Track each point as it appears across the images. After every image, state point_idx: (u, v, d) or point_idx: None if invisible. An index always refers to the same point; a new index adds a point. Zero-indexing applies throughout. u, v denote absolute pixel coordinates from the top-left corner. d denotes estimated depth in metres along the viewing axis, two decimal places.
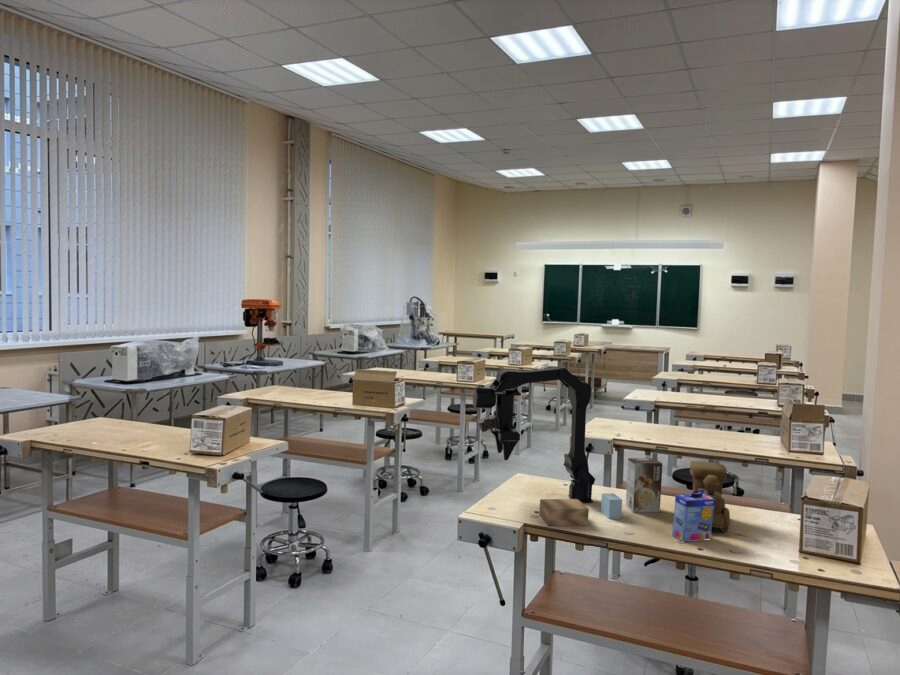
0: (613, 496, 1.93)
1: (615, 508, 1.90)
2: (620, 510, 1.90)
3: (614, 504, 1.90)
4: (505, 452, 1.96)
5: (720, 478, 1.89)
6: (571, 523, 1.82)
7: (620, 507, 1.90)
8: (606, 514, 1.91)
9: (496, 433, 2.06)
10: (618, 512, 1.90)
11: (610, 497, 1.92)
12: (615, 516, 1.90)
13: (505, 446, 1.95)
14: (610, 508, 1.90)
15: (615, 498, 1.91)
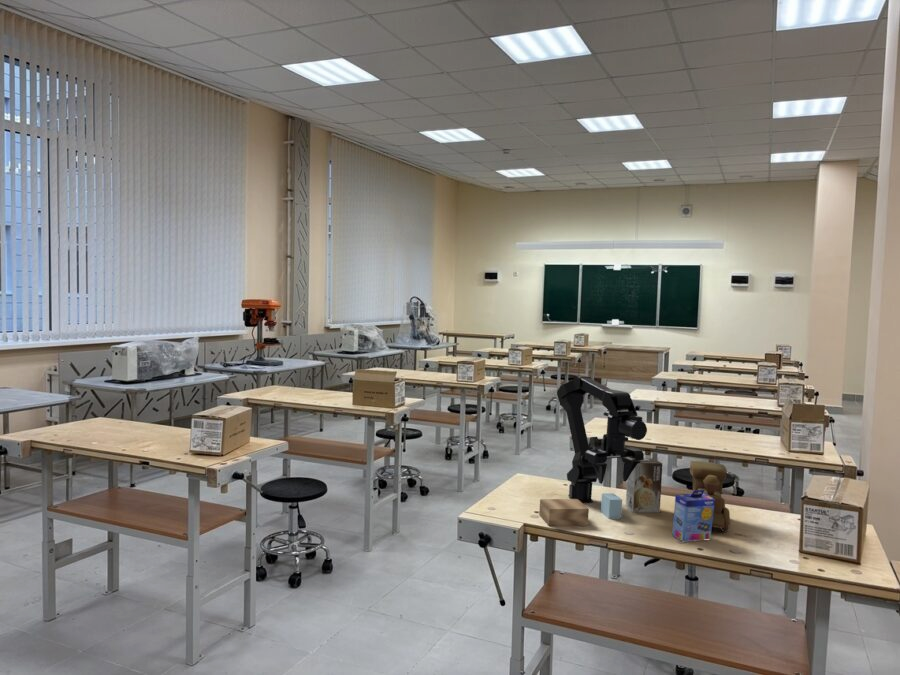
0: (613, 496, 1.93)
1: (615, 508, 1.90)
2: (620, 510, 1.90)
3: (614, 504, 1.90)
4: (597, 474, 1.90)
5: (720, 478, 1.89)
6: (571, 523, 1.82)
7: (620, 507, 1.90)
8: (606, 514, 1.91)
9: (624, 460, 1.95)
10: (618, 512, 1.90)
11: (610, 497, 1.92)
12: (615, 516, 1.90)
13: (596, 468, 1.90)
14: (610, 508, 1.90)
15: (615, 498, 1.91)
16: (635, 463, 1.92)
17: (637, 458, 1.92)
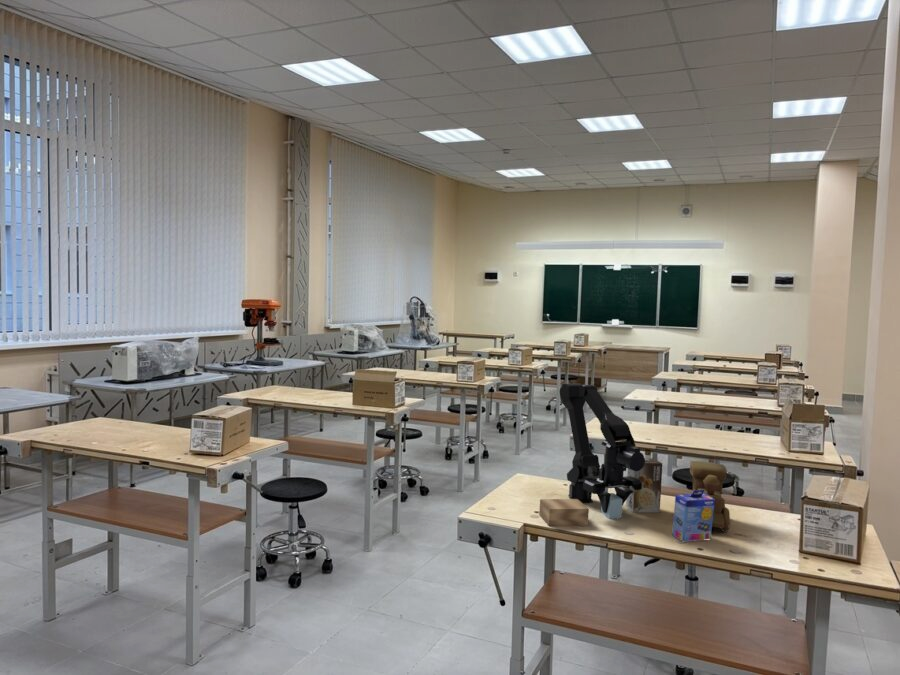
0: (613, 496, 1.93)
1: (615, 508, 1.90)
2: (620, 510, 1.90)
3: (614, 503, 1.90)
4: (601, 503, 1.92)
5: (720, 478, 1.89)
6: (571, 523, 1.82)
7: (620, 507, 1.90)
8: (606, 514, 1.91)
9: (617, 489, 1.95)
10: (618, 512, 1.90)
11: (610, 497, 1.92)
12: (615, 516, 1.90)
13: (600, 497, 1.92)
14: (610, 508, 1.90)
15: (615, 498, 1.91)
16: (628, 493, 1.92)
17: (635, 488, 1.92)
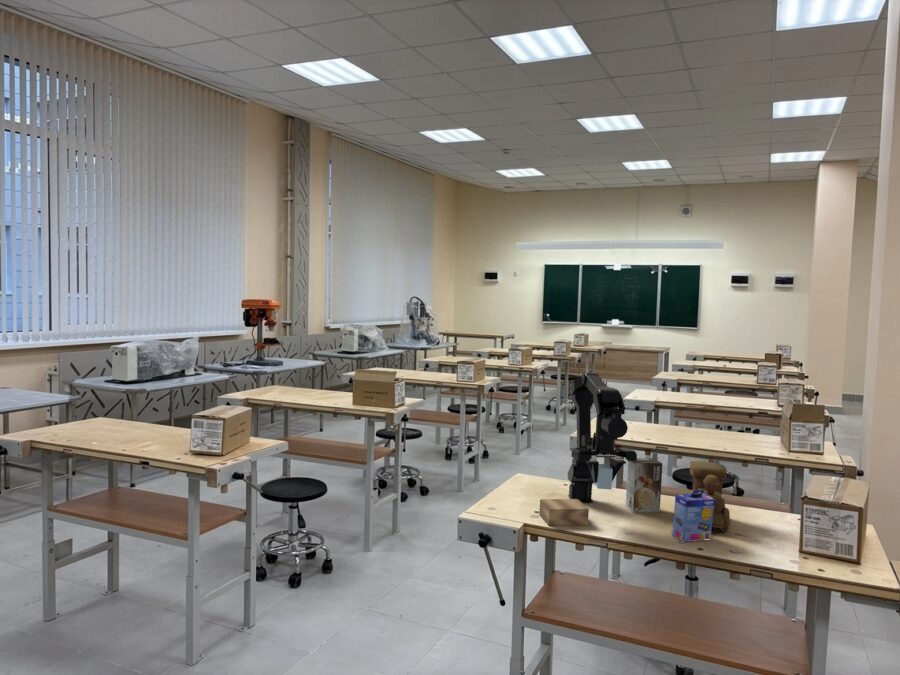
0: (604, 466, 1.85)
1: (605, 478, 1.83)
2: (610, 480, 1.83)
3: (603, 473, 1.83)
4: (591, 473, 1.86)
5: (720, 478, 1.89)
6: (571, 523, 1.82)
7: (610, 477, 1.83)
8: (596, 484, 1.85)
9: (611, 460, 1.87)
10: (608, 483, 1.83)
11: (601, 466, 1.85)
12: (605, 486, 1.83)
13: (590, 466, 1.86)
14: (599, 477, 1.83)
15: (605, 467, 1.84)
16: (620, 464, 1.84)
17: (628, 459, 1.84)
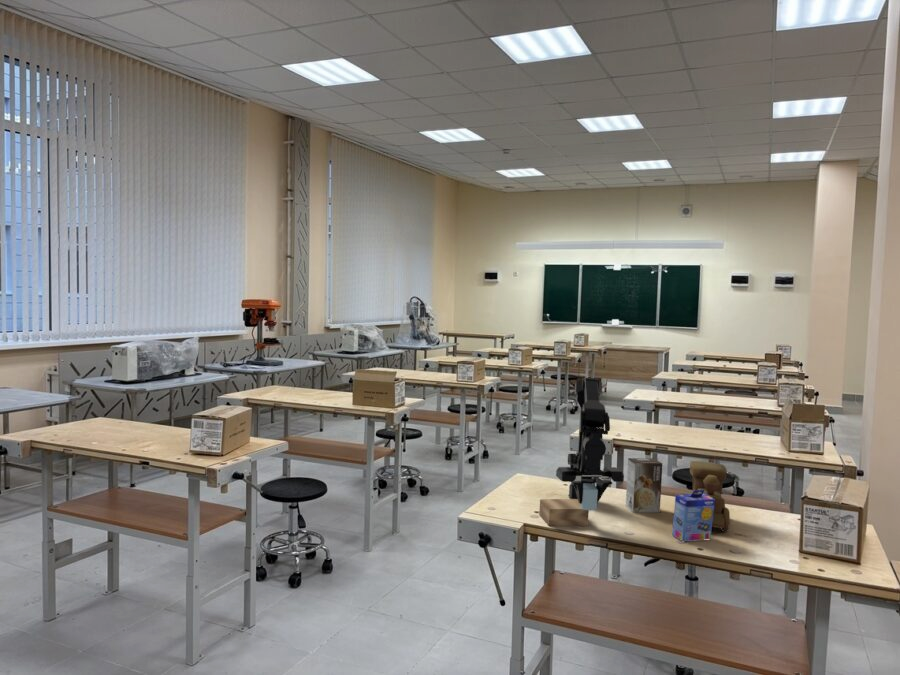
0: (590, 486, 1.80)
1: (589, 499, 1.78)
2: (595, 501, 1.78)
3: (588, 494, 1.78)
4: (576, 493, 1.81)
5: (720, 478, 1.89)
6: (571, 523, 1.82)
7: (595, 498, 1.77)
8: (581, 505, 1.80)
9: (597, 480, 1.82)
10: (593, 504, 1.78)
11: (586, 487, 1.80)
12: (590, 507, 1.78)
13: (575, 486, 1.81)
14: (584, 498, 1.78)
15: (591, 488, 1.79)
16: (605, 484, 1.78)
17: (614, 479, 1.78)
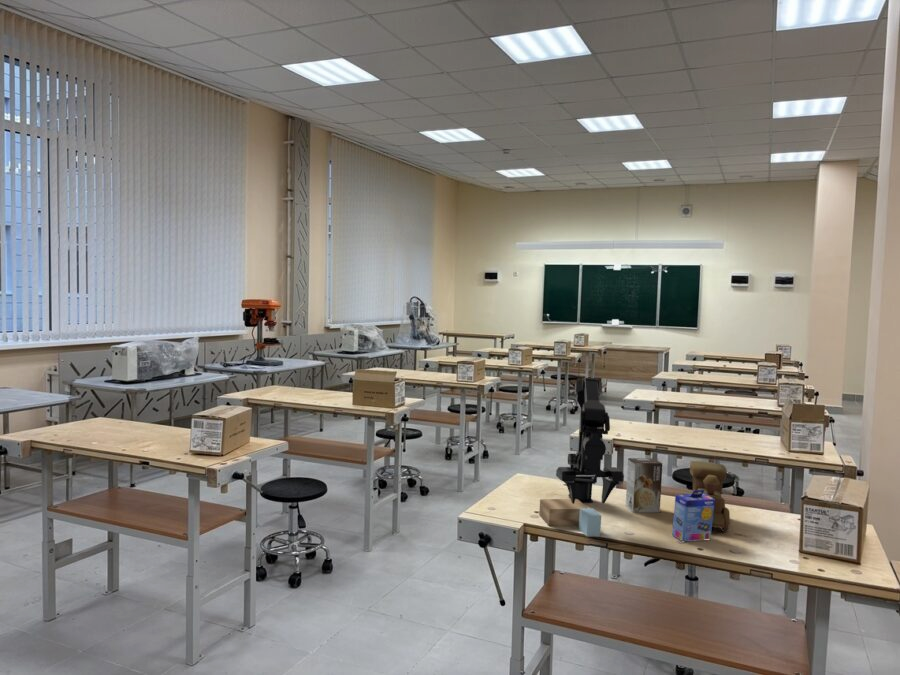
0: (595, 526, 1.74)
1: None
2: None
3: None
4: (569, 493, 1.80)
5: (720, 478, 1.89)
6: (571, 523, 1.82)
7: None
8: (579, 523, 1.79)
9: (604, 480, 1.82)
10: None
11: (591, 528, 1.74)
12: None
13: (568, 486, 1.80)
14: None
15: (594, 531, 1.74)
16: (612, 484, 1.79)
17: (614, 479, 1.78)
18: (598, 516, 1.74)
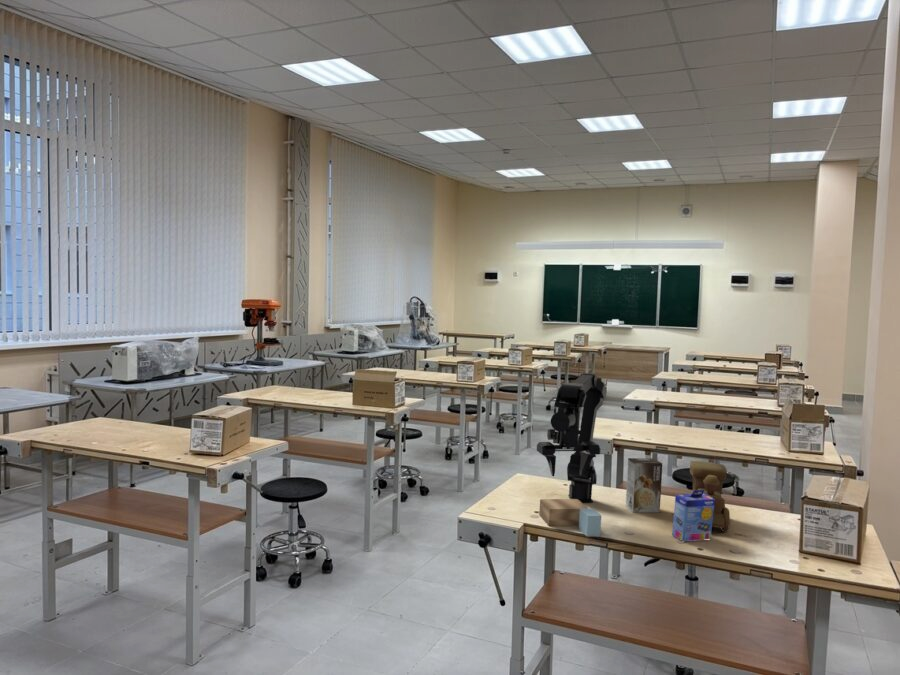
0: (595, 526, 1.74)
1: None
2: None
3: None
4: (549, 466, 1.90)
5: (720, 478, 1.89)
6: (571, 523, 1.82)
7: None
8: (580, 523, 1.79)
9: (581, 454, 1.92)
10: None
11: (591, 528, 1.74)
12: None
13: (548, 460, 1.90)
14: None
15: (594, 531, 1.74)
16: (590, 457, 1.89)
17: (592, 452, 1.88)
18: (598, 516, 1.74)
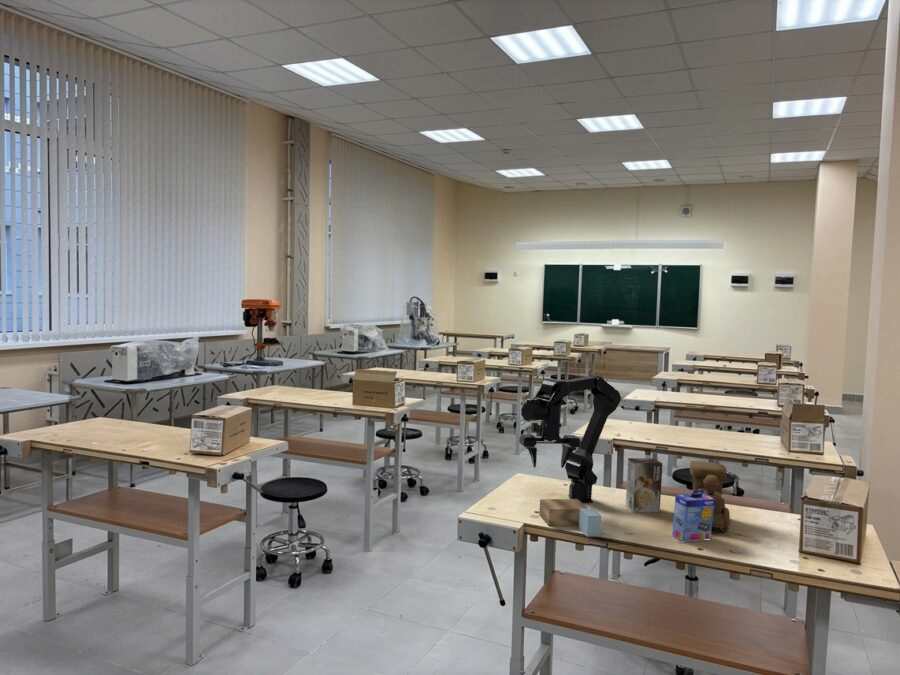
0: (595, 526, 1.74)
1: None
2: None
3: None
4: (531, 458, 1.98)
5: (720, 478, 1.89)
6: (571, 523, 1.82)
7: None
8: (580, 523, 1.79)
9: (563, 446, 2.00)
10: None
11: (591, 528, 1.74)
12: None
13: (530, 452, 1.98)
14: None
15: (594, 531, 1.74)
16: (570, 450, 1.96)
17: (572, 445, 1.96)
18: (598, 516, 1.74)
